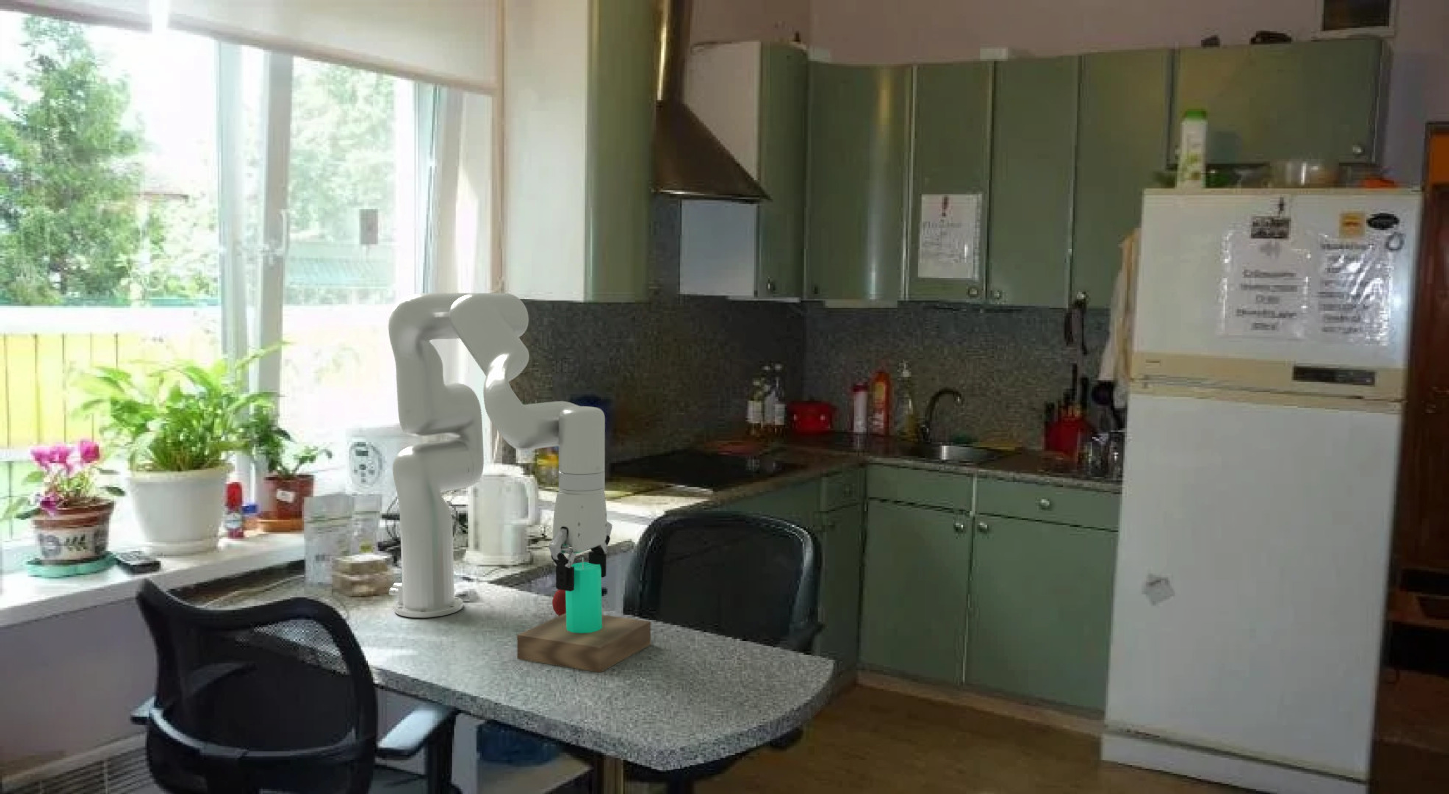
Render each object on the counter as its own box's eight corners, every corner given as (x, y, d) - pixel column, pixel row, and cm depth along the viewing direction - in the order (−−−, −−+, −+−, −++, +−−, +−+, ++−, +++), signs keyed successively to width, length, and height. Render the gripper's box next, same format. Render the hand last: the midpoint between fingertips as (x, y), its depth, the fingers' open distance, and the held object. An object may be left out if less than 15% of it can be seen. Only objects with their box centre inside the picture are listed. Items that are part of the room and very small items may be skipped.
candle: (586, 635, 189) (585, 563, 188) (558, 629, 193) (557, 558, 191) (609, 626, 194) (608, 555, 193) (581, 621, 198) (580, 551, 197)
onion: (588, 618, 213) (587, 575, 212) (581, 627, 208) (580, 583, 207) (557, 618, 214) (556, 575, 213) (549, 627, 208) (548, 583, 207)
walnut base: (517, 658, 190) (516, 635, 190) (571, 632, 204) (571, 610, 204) (600, 672, 183) (599, 647, 183) (650, 644, 197) (650, 621, 197)
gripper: (591, 471, 201) (590, 568, 202) (532, 488, 185) (532, 592, 187) (628, 475, 197) (627, 574, 199) (571, 492, 182) (571, 598, 184)
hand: (581, 582), depth 193 cm, fingers open, 9 cm apart
